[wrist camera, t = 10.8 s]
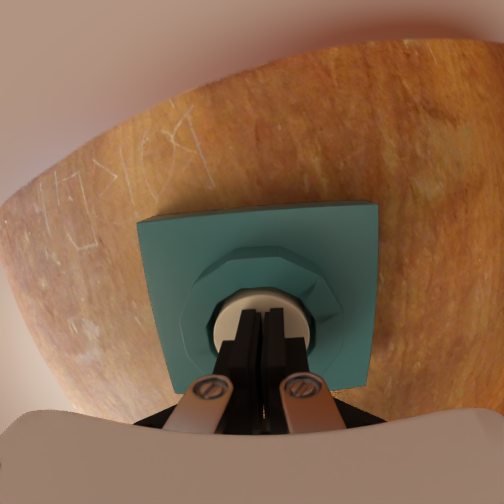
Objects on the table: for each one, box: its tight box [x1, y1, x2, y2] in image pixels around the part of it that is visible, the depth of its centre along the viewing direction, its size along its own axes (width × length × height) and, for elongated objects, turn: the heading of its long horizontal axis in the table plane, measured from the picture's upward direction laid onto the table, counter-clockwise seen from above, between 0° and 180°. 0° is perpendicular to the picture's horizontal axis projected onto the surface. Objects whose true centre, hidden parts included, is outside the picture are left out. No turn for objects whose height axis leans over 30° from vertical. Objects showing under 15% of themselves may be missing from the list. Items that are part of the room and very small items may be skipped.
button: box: [213, 286, 310, 353], centre depth 13 cm, size 4×4×2 cm
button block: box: [137, 200, 379, 394], centre depth 14 cm, size 11×10×4 cm
